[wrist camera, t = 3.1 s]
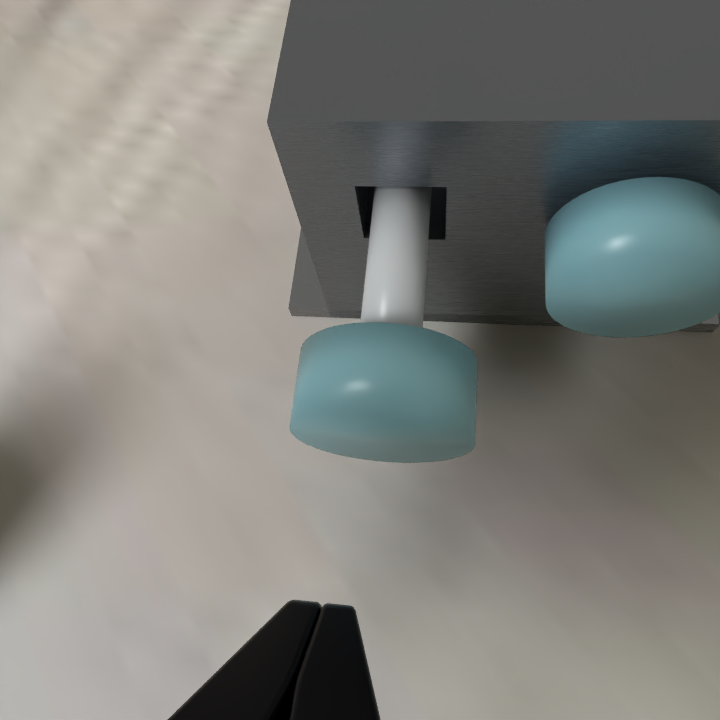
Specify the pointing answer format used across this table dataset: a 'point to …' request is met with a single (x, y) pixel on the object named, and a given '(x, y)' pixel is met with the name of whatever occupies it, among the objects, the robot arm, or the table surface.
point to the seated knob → (635, 258)
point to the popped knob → (389, 357)
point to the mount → (482, 132)
